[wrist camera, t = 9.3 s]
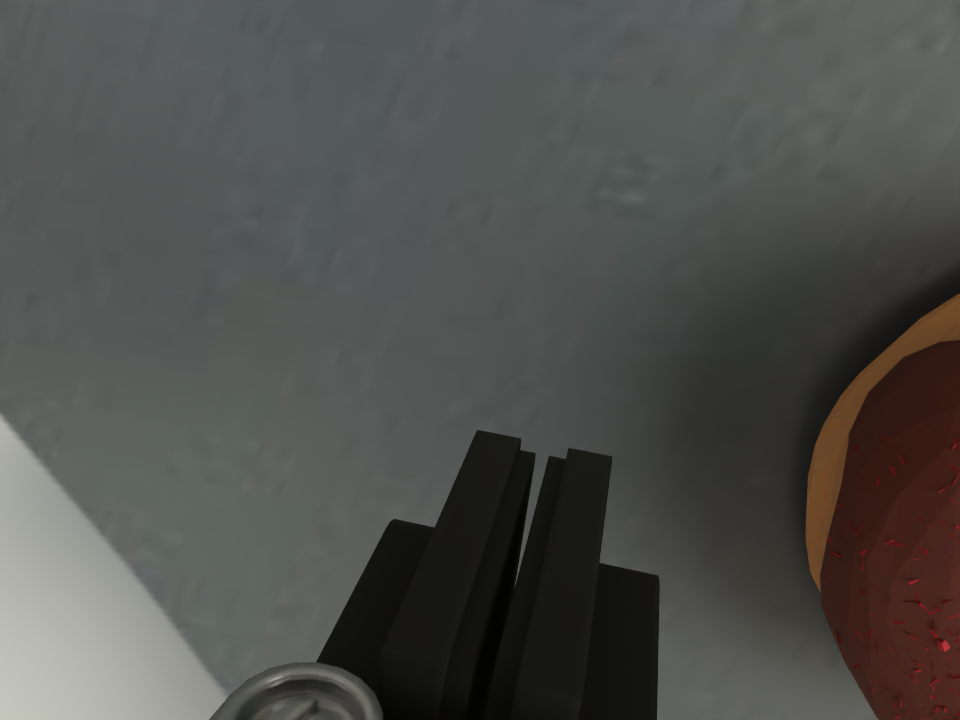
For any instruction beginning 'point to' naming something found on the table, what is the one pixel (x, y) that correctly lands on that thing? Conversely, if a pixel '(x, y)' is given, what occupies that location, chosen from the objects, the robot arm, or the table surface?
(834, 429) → the donut
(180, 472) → the table surface
